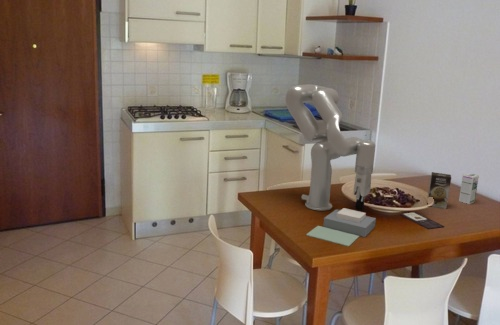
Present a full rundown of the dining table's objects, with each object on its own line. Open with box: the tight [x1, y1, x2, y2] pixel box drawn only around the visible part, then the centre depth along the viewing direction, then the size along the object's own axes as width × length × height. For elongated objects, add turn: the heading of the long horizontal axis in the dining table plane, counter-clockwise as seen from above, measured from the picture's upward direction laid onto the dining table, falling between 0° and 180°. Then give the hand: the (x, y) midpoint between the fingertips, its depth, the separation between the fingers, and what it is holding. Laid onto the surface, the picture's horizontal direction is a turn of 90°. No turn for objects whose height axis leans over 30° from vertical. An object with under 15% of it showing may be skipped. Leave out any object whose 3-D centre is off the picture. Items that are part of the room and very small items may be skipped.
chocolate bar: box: [400, 211, 445, 230], centre depth 217 cm, size 9×1×18 cm
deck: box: [322, 208, 377, 238], centre depth 205 cm, size 18×14×4 cm
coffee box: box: [427, 171, 452, 210], centre depth 237 cm, size 9×6×16 cm
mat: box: [305, 225, 360, 248], centre depth 195 cm, size 18×12×1 cm, turn 59°
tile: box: [337, 207, 367, 223], centre depth 205 cm, size 10×8×2 cm
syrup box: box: [458, 172, 480, 205], centre depth 246 cm, size 6×6×14 cm
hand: (359, 209), depth 214 cm, fingers closed
